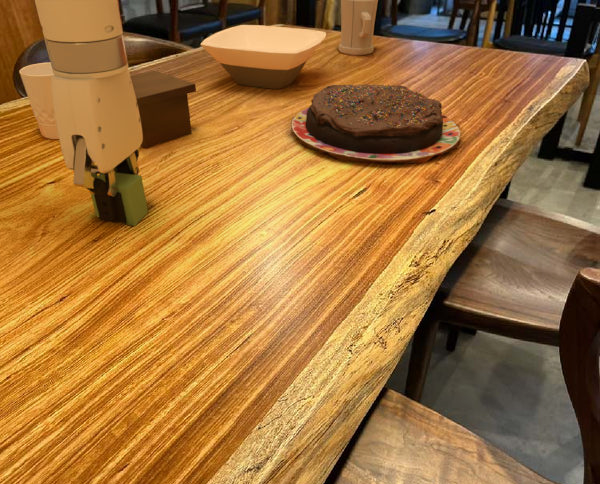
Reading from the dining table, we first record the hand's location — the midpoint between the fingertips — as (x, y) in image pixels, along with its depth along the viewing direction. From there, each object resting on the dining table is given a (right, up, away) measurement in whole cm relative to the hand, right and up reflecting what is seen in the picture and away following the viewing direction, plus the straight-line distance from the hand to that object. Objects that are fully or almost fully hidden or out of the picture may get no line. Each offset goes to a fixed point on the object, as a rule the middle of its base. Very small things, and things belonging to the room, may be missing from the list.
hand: (122, 212), depth 66 cm
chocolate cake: (+34, +17, +24) cm, 45 cm away
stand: (-2, +17, +23) cm, 28 cm away
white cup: (-17, +17, +23) cm, 33 cm away
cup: (+37, +52, +69) cm, 94 cm away
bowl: (+15, +36, +48) cm, 62 cm away
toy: (0, 0, 0) cm, 1 cm away
